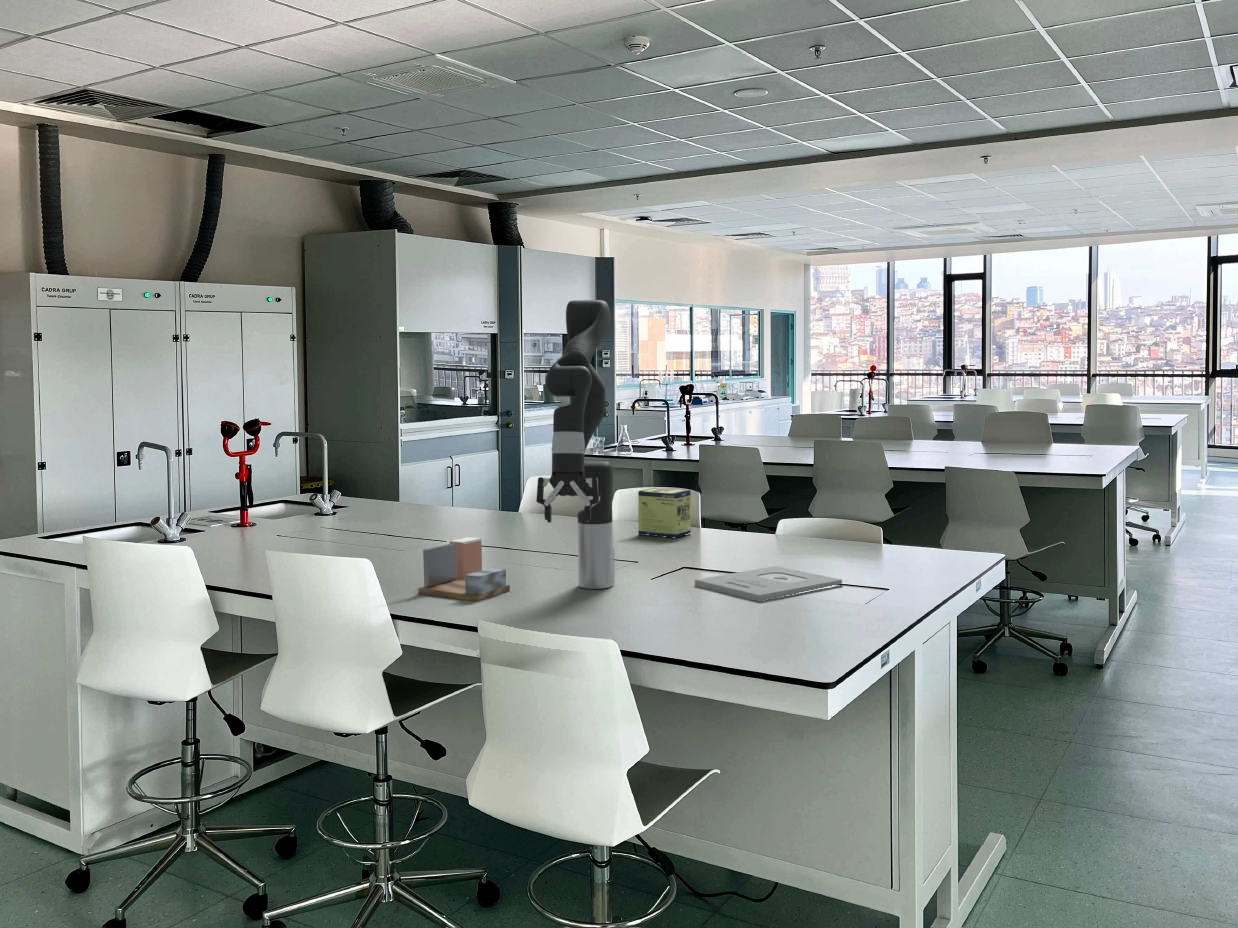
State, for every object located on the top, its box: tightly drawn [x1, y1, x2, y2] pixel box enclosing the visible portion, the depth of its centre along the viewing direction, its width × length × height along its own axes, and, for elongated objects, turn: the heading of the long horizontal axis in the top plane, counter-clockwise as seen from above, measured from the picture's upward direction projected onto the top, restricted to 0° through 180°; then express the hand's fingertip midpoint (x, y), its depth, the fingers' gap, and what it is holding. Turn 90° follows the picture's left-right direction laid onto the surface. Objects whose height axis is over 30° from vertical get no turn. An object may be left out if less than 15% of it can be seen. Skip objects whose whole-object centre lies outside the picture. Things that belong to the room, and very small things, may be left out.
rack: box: [417, 567, 511, 602], centre depth 271 cm, size 14×19×6 cm
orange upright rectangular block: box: [449, 536, 483, 580], centre depth 287 cm, size 8×5×11 cm, turn 149°
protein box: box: [637, 487, 692, 539], centre depth 360 cm, size 10×16×16 cm
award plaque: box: [694, 565, 843, 602], centre depth 275 cm, size 25×30×2 cm
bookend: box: [422, 543, 457, 586], centre depth 275 cm, size 11×2×10 cm, turn 149°
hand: (567, 522), depth 240 cm, fingers open, 8 cm apart
